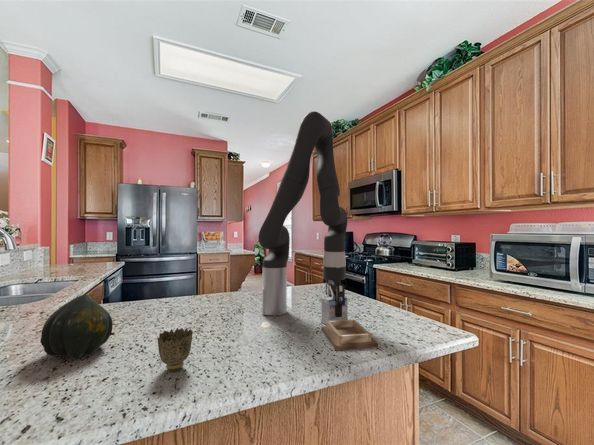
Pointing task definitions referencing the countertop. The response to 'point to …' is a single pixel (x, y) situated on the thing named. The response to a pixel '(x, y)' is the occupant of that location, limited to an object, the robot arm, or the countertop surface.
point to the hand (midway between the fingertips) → (334, 312)
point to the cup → (174, 347)
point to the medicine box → (332, 310)
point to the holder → (348, 335)
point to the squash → (76, 328)
